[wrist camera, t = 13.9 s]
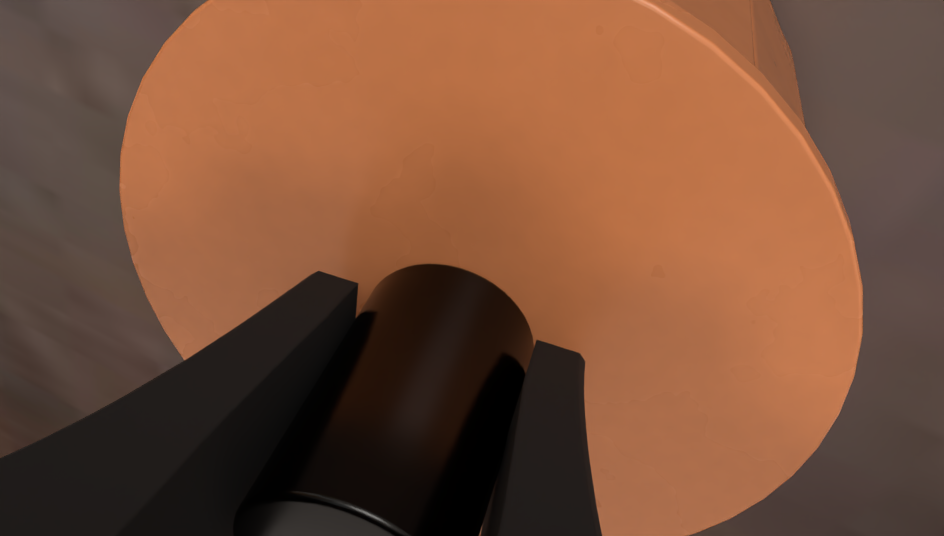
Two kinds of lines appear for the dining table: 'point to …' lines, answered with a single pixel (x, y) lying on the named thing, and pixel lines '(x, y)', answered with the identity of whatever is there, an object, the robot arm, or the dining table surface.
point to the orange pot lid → (499, 248)
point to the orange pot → (753, 40)
